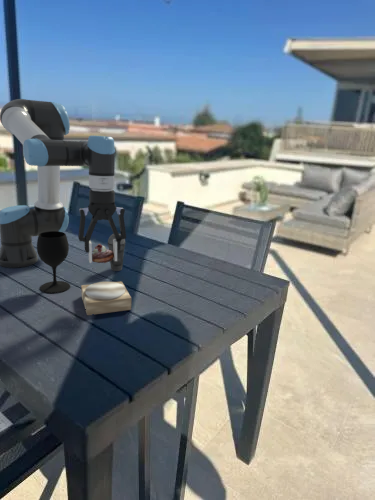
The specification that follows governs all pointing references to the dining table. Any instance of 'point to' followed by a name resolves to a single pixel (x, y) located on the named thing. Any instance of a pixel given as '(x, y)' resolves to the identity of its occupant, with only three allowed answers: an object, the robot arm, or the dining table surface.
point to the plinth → (105, 297)
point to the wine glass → (53, 257)
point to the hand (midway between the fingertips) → (102, 260)
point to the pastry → (102, 254)
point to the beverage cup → (119, 263)
